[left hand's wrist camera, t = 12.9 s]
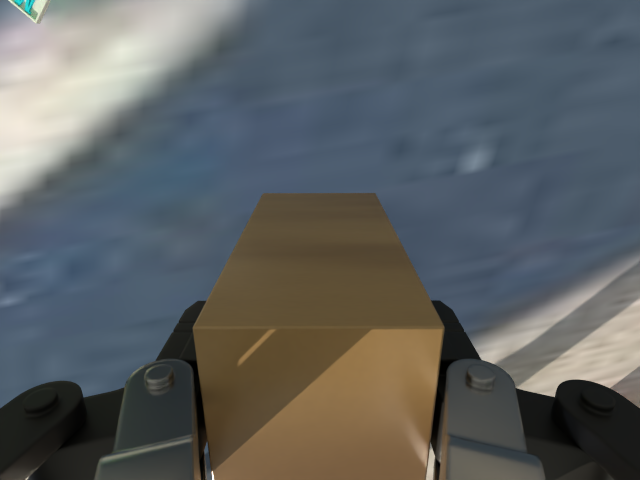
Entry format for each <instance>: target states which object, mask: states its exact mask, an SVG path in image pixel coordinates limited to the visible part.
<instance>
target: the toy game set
mask: <svg viewBox="0 0 640 480" xmlns="http://www.w3.org/2000/svg"><path fill="white" fill-rule="evenodd" d="M9 1H10V2H11V3H12V4H14V5H15V6H16V7H17V8H18V9H19V10H21V11H22V12H23V13H24V14H25V15H27V16H28V17H29V18H30V19H31V20H33V21H34V22H35V23H39V24H40V22H41V20H42V18H43V16H44V14H45V12H46V10H47V8H48V5H49V3H50V1H51V0H9Z"/></svg>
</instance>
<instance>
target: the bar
mask: <svg viewBox="0 0 640 480" xmlns="http://www.w3.org/2000/svg"><path fill="white" fill-rule="evenodd" d="M444 328H445V327H444V325H443V323H442V321H441V319H440V317H439V315H438V313H437V311H436V310H435V308H434V306H433V304H432V302H431V300H430V298H429V296H428V294H427V292H426V290H425V288H424V286H423V284H422V282H421V281H420V279H419V277H418V275H417V273H416V271H415V269H414V267H413V265H412V263H411V261H410V259H409V257H408V255H407V254H406V252H405V250H404V248H403V246H402V244H401V242H400V240H399V238H398V236H397V234H396V232H395V230H394V228H393V226H392V225H391V223H390V221H389V219H388V217H387V215H386V213H385V211H384V209H383V207H382V205H381V203H380V201H379V199H378V198H377V196H376V194H375V193H264V194H262V196H261V198H260V200H259V202H258V204H257V206H256V208H255V210H254V212H253V213H252V215H251V217H250V219H249V221H248V223H247V225H246V227H245V229H244V231H243V233H242V234H241V236H240V238H239V240H238V242H237V244H236V246H235V248H234V250H233V252H232V253H231V255H230V257H229V259H228V261H227V263H226V265H225V267H224V269H223V271H222V273H221V274H220V276H219V278H218V280H217V282H216V284H215V286H214V288H213V290H212V292H211V294H210V295H209V297H208V299H207V301H206V303H205V305H204V307H203V309H202V311H201V313H200V315H199V316H198V318H197V320H196V322H195V324H194V326H193V334H194V342H195V350H196V357H197V365H198V373H199V380H200V388H201V396H202V403H203V411H204V419H205V426H206V434H207V442H208V449H209V457H210V465H211V472H212V480H426V474H427V466H428V458H429V449H430V441H431V433H432V425H433V417H434V409H435V401H436V393H437V385H438V377H439V369H440V361H441V353H442V345H443V336H444Z"/></svg>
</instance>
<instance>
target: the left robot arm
mask: <svg viewBox="0 0 640 480" xmlns="http://www.w3.org/2000/svg"><path fill="white" fill-rule="evenodd" d="M431 302H432V304H433V306H434V308H435V310H436V311H437V313H438V315H439V317H440V319H441V321H442V323H443V325H444V327H445V328H444V336H443V345H442V353H441V361H440V369H439V377H438V385H437V393H436V401H435V409H434V417H433V425H432V433H431V445H432V448H433V451H434V454H435V461H434V472H433V480H640V408H638V407H637V406H635V405H634V404H633V403H631V402H630V401H629V400H627V399H626V398H625V397H623V396H622V395H620V394H619V393H617V392H615V391H614V390H612V389H610V388H608V387H605V386H603V385H600V384H598V383H594V382H591V381H585V380H568V381H565V382H562V383H561V384H560V385H559V386H558V388H557V391H556V395H555V397H551V396H546V395H542V394H537V393H533V392H528V391H524V390H520V389H517V388H515V384H514V381H513V380H512V378H511V377H510V376H509V374H508V373H506V372H505V371H504V370H503V369H501V368H500V367H498V366H496V365H494V364H492V363H489V362H486V361H483V360H481V358H480V357H479V355H478V353H477V352H476V350H475V348H474V346H473V345H472V343H471V341H470V339H469V338H468V336H467V334H466V333H465V332H464V329H463V327H462V326H461V324H460V323H459V321H458V319H457V317H456V315H455V314H454V312H453V310H452V309H450V308H449V307H448V306H446V305H445V304H444V303H442V302H441V301H431ZM205 303H206V301H197V302H196V303H194V304H193V305H192V306H190V307H189V308H188V309H186V310H185V312H184V313H183V315H182V317H181V318H180V320H179V323H177V325H176V327H175V328H174V332H173V333H172V334H171V335H170V337H169V339H168V340H167V342H166V344H165V345H164V347H163V349H162V351H161V352H160V354H159V356H158V357H157V359H156V361H154V362H151V363H148V364H146V365H144V366H142V367H140V368H139V369H137V370H136V371H135V372H134V373H132V374H131V376H130V377H129V378H128V380H127V381H126V384H125V387H124V388H121V389H119V390H115V391H111V392H107V393H102V394H98V395H93V396H89V397H84V398H83V394H82V390H81V388H80V387H79V385H77V384H76V383H73V382H70V381H54V382H49V383H45V384H41V385H39V386H36V387H33V388H31V389H29V390H27V391H25V392H23V393H22V394H20V395H19V396H17V397H15V398H14V399H13V400H11V401H10V402H9V403H7V404H6V405H4V406H3V407H2V408H0V480H207V472H206V461H205V454H204V449H205V446H206V442H207V434H206V426H205V419H204V411H203V403H202V396H201V388H200V380H199V373H198V365H197V357H196V350H195V342H194V334H193V326H194V324H195V322H196V320H197V318H198V316H199V315H200V313H201V311H202V309H203V307H204V305H205Z"/></svg>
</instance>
